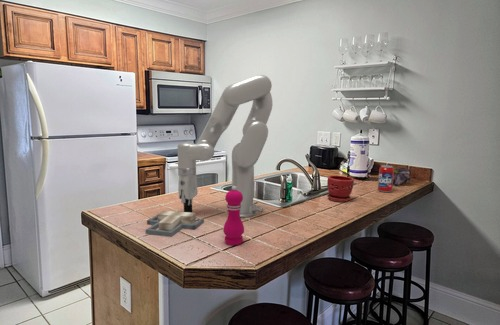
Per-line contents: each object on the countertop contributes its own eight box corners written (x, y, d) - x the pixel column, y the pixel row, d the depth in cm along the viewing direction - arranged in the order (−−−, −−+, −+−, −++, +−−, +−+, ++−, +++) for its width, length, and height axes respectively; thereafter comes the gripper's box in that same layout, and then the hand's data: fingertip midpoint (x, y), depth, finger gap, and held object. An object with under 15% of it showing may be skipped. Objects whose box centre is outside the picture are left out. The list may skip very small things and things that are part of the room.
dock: (203, 222, 134) (203, 218, 134) (184, 238, 117) (184, 234, 117) (159, 217, 139) (159, 213, 139) (133, 232, 122) (133, 228, 122)
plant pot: (343, 204, 163) (344, 181, 162) (321, 199, 173) (322, 176, 171) (357, 200, 172) (358, 177, 170) (335, 195, 182) (337, 174, 180)
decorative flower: (381, 167, 218) (404, 161, 216) (383, 182, 222) (405, 176, 221) (390, 177, 204) (414, 171, 203) (392, 193, 209) (416, 187, 208)
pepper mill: (223, 238, 118) (223, 183, 115) (243, 237, 118) (244, 183, 115) (223, 246, 111) (223, 188, 108) (244, 245, 111) (245, 188, 108)
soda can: (393, 190, 194) (395, 165, 192) (390, 193, 188) (393, 167, 185) (379, 189, 198) (381, 164, 196) (376, 191, 192) (378, 166, 189)
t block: (195, 222, 134) (195, 212, 134) (183, 234, 120) (183, 224, 120) (163, 219, 136) (163, 210, 136) (147, 231, 123) (147, 221, 122)
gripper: (188, 175, 132) (189, 219, 134) (202, 169, 146) (202, 209, 149) (170, 174, 133) (172, 218, 136) (186, 168, 148) (187, 207, 151)
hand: (188, 213), depth 143 cm, fingers closed
